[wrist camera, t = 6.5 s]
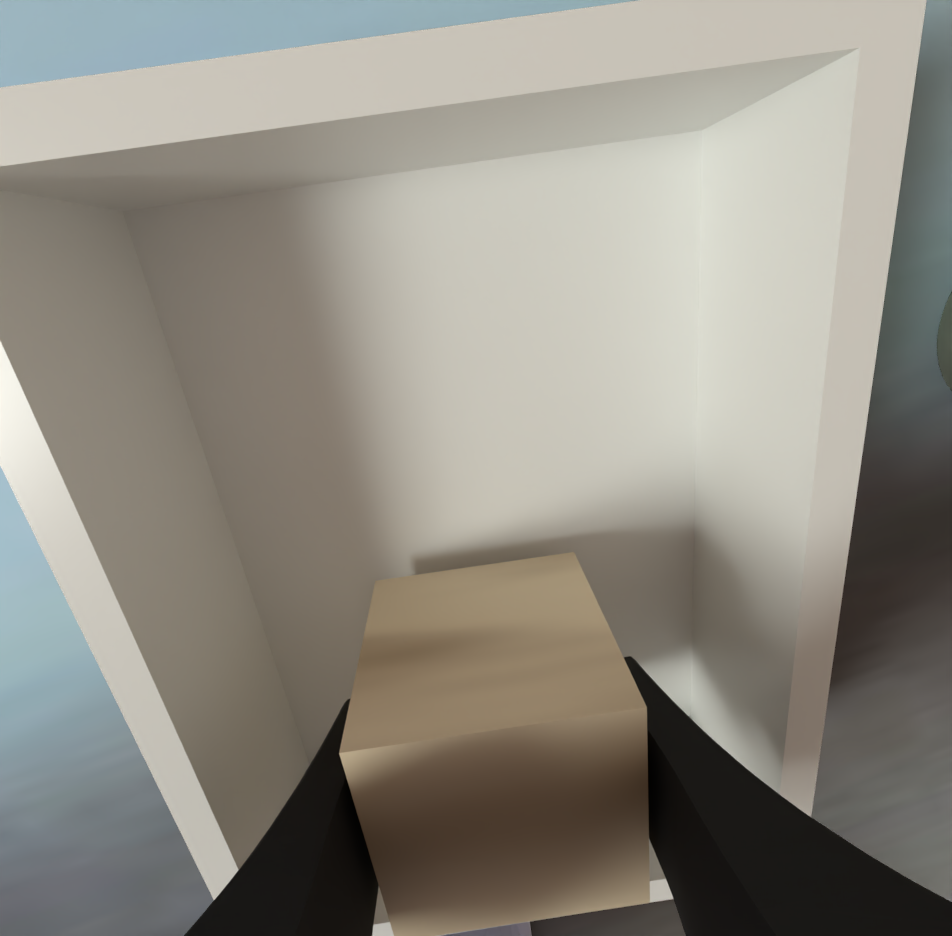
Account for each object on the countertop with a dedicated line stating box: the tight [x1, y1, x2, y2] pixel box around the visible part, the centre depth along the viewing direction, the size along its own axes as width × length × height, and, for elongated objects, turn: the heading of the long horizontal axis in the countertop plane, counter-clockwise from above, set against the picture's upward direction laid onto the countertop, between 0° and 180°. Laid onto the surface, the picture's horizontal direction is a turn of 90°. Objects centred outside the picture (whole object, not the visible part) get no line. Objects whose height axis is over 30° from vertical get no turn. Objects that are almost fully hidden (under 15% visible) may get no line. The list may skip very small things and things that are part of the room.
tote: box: [0, 0, 927, 936], centre depth 12 cm, size 18×14×5 cm
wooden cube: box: [339, 552, 650, 936], centre depth 12 cm, size 5×5×5 cm
